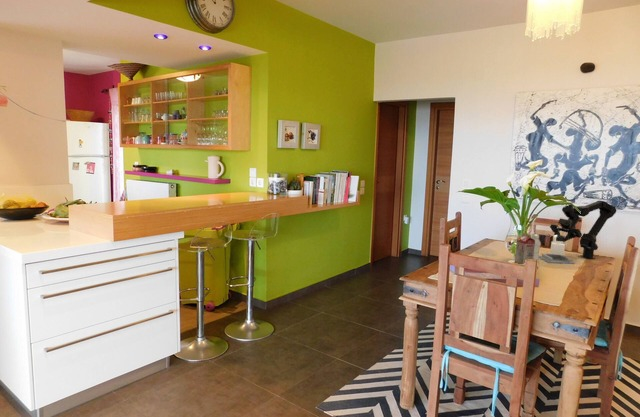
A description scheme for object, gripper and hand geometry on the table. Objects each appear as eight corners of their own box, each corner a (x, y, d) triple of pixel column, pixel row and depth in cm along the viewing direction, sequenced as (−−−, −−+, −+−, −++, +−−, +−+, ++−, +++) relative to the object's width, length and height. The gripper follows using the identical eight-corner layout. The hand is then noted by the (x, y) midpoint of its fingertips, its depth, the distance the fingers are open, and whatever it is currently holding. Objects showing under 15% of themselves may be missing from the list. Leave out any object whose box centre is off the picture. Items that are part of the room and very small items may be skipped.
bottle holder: (537, 257, 280) (538, 253, 279) (562, 258, 279) (563, 254, 279) (548, 263, 266) (548, 258, 265) (574, 264, 265) (575, 259, 265)
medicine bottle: (562, 253, 274) (564, 234, 272) (563, 255, 267) (565, 237, 265) (550, 251, 276) (552, 233, 275) (551, 254, 270) (553, 235, 268)
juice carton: (522, 273, 242) (526, 235, 238) (513, 269, 248) (517, 232, 245) (531, 272, 243) (535, 234, 240) (523, 269, 250) (527, 232, 247)
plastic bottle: (539, 268, 252) (543, 235, 249) (527, 267, 253) (531, 234, 250) (536, 266, 258) (540, 233, 255) (524, 264, 259) (528, 232, 256)
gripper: (553, 211, 279) (540, 229, 275) (581, 216, 262) (567, 235, 259) (559, 223, 283) (546, 240, 280) (587, 228, 267) (574, 246, 264)
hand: (558, 240), depth 271 cm, fingers closed on medicine bottle, 6 cm apart
